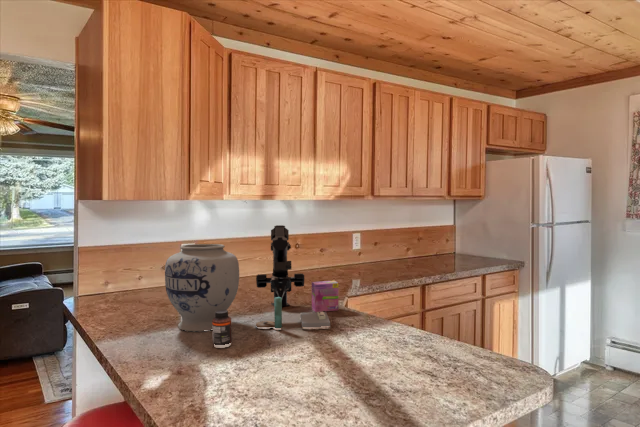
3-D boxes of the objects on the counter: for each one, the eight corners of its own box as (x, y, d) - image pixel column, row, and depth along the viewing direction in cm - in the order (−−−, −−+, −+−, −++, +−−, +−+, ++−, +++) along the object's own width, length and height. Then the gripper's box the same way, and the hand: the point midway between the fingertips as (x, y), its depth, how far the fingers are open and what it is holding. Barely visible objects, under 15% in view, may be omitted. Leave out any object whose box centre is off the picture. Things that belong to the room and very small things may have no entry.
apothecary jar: (166, 319, 169) (164, 242, 168) (234, 312, 178) (233, 240, 177) (165, 340, 144) (163, 250, 143) (245, 331, 153) (244, 247, 152)
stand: (300, 319, 168) (300, 307, 168) (325, 318, 169) (325, 306, 169) (302, 330, 154) (302, 316, 154) (330, 329, 155) (330, 315, 155)
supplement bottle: (224, 341, 142) (223, 307, 142) (235, 345, 139) (235, 310, 138) (208, 346, 138) (208, 311, 137) (220, 350, 134) (220, 314, 133)
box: (314, 312, 178) (314, 284, 177) (311, 309, 183) (311, 281, 183) (338, 310, 180) (338, 282, 180) (334, 307, 186) (334, 280, 186)
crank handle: (268, 323, 163) (267, 292, 163) (284, 329, 155) (284, 297, 155) (252, 326, 159) (251, 295, 158) (268, 333, 151) (268, 300, 150)
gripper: (256, 254, 168) (255, 288, 158) (304, 253, 170) (306, 287, 159) (257, 270, 176) (256, 304, 166) (303, 269, 178) (304, 302, 168)
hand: (280, 299), depth 164 cm, fingers closed
